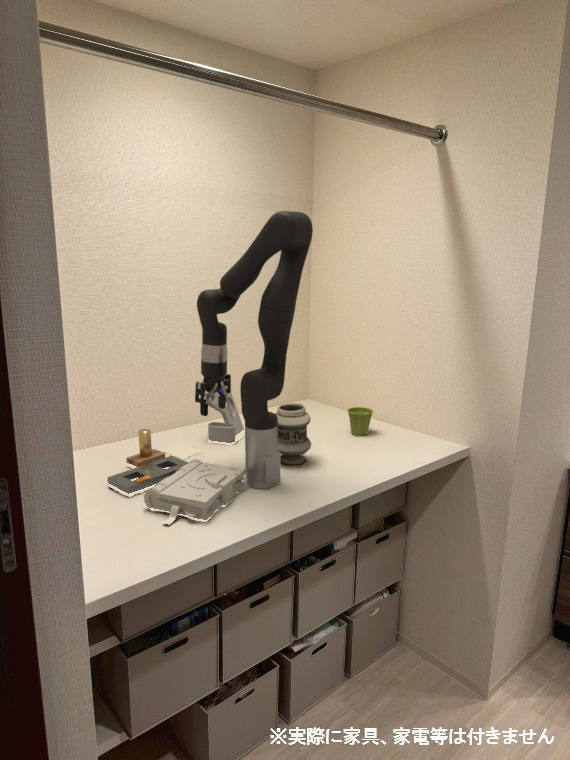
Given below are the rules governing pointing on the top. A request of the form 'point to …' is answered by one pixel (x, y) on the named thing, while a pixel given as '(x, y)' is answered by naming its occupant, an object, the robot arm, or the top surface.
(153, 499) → the book
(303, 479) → the top surface
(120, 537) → the top surface
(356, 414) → the plant pot
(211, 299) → the robot arm
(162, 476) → the grey peg board
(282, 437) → the apothecary jar
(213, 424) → the phone holder
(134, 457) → the block
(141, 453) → the brass peg
